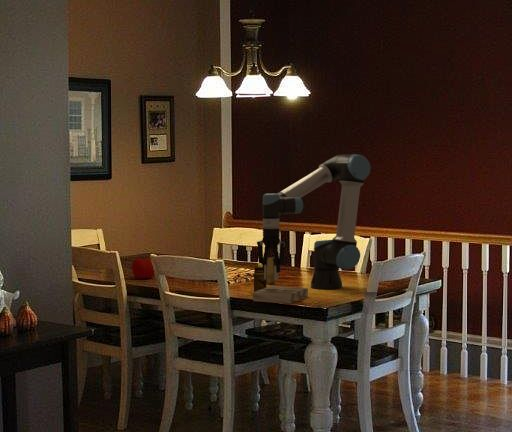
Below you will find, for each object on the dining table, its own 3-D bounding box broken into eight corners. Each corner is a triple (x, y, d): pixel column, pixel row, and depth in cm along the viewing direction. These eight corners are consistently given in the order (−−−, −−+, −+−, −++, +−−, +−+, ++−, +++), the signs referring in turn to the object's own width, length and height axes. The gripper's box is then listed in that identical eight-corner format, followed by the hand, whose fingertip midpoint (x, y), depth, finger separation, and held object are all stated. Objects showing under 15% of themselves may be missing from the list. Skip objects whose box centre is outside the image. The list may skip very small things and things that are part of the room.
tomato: (137, 276, 527) (136, 255, 526) (160, 277, 523) (160, 255, 523) (128, 280, 515) (127, 257, 514) (152, 280, 512) (151, 258, 511)
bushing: (268, 283, 452) (268, 257, 451) (277, 284, 450) (277, 257, 449) (264, 284, 448) (264, 258, 447) (273, 285, 446) (273, 258, 445)
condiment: (266, 293, 464) (265, 268, 463) (248, 293, 465) (248, 268, 464) (268, 291, 471) (268, 266, 470) (250, 291, 472) (250, 266, 471)
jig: (272, 294, 461) (272, 286, 460) (307, 296, 453) (307, 288, 452) (253, 301, 443) (252, 292, 442) (289, 303, 435) (289, 294, 434)
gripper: (250, 227, 448) (250, 279, 449) (285, 229, 440) (285, 281, 442) (257, 226, 454) (257, 277, 456) (292, 227, 447) (292, 279, 448)
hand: (271, 279), depth 449 cm, fingers closed on bushing, 4 cm apart
